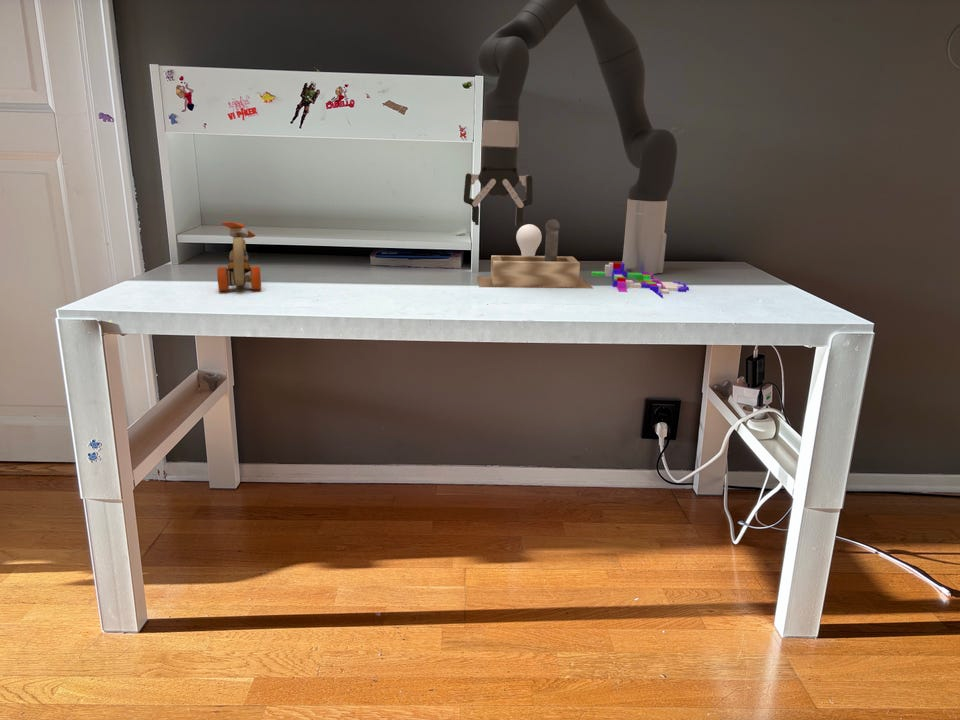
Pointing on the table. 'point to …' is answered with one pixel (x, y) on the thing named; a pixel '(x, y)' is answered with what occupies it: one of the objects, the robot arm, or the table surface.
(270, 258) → the table surface
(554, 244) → the walnut post stand
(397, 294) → the table surface
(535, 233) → the lightbulb
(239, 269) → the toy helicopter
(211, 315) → the table surface
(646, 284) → the building block set
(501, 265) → the open wooden box
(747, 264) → the table surface
